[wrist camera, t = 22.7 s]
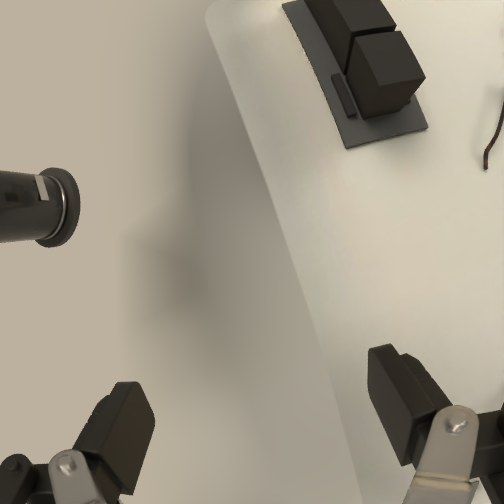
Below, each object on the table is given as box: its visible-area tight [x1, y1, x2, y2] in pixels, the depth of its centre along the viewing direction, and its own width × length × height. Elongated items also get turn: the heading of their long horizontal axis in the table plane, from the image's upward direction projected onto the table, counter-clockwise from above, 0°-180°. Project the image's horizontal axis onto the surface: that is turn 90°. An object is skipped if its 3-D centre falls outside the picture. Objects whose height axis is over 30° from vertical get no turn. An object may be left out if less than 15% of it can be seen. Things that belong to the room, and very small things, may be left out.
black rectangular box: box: [346, 31, 426, 120], centre depth 24 cm, size 4×5×9 cm
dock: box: [282, 0, 428, 148], centre depth 24 cm, size 10×20×10 cm, turn 17°
